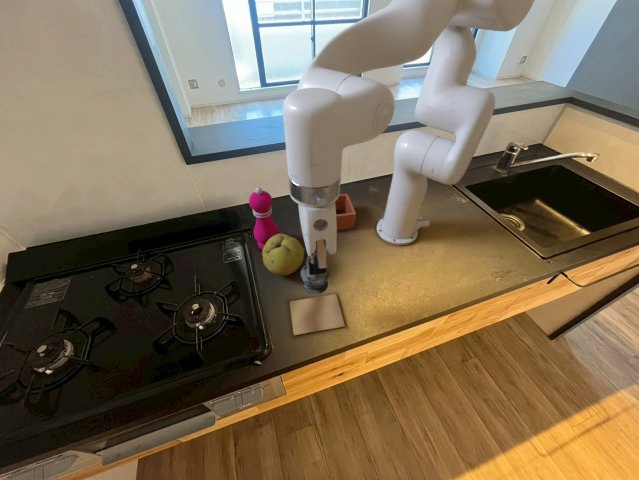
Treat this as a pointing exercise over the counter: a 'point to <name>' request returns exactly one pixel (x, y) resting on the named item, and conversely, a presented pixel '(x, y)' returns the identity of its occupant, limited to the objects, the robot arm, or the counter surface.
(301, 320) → the board
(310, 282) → the grey stone figurine
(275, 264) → the fruit
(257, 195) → the pepper mill
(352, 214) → the holder
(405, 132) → the robot arm
